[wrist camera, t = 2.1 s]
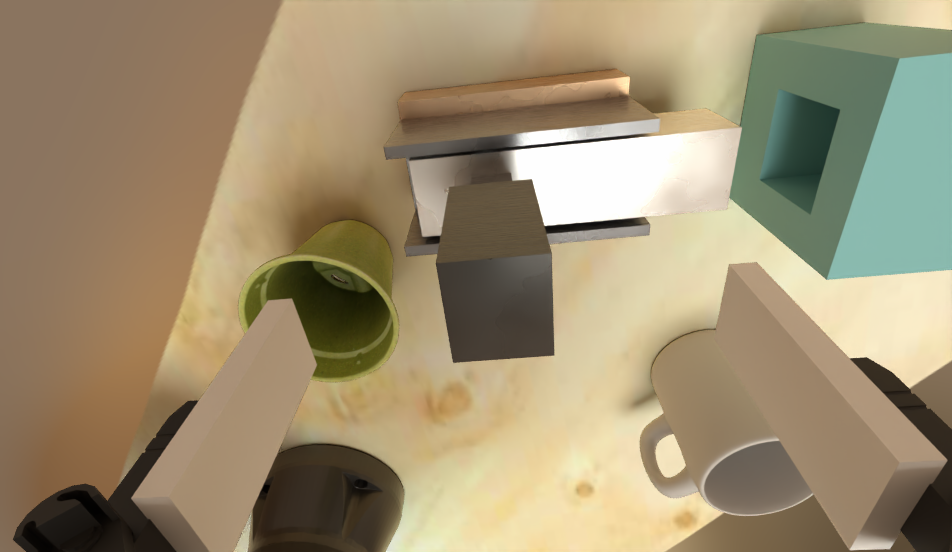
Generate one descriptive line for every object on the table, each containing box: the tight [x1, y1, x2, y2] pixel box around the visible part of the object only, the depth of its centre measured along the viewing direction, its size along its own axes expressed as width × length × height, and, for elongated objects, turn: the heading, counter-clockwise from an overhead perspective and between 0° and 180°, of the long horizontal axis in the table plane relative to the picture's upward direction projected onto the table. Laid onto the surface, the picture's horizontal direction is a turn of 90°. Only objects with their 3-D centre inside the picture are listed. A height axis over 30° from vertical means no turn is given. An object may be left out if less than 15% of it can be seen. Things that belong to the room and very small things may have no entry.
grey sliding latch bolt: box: [409, 108, 742, 363], centre depth 21 cm, size 16×4×15 cm, turn 96°
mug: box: [640, 330, 813, 516], centre depth 37 cm, size 12×8×11 cm
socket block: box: [729, 23, 952, 280], centre depth 25 cm, size 6×10×11 cm, turn 6°
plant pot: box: [238, 220, 399, 382], centre depth 32 cm, size 9×9×9 cm
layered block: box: [384, 69, 660, 257], centre depth 27 cm, size 13×8×8 cm, turn 96°
